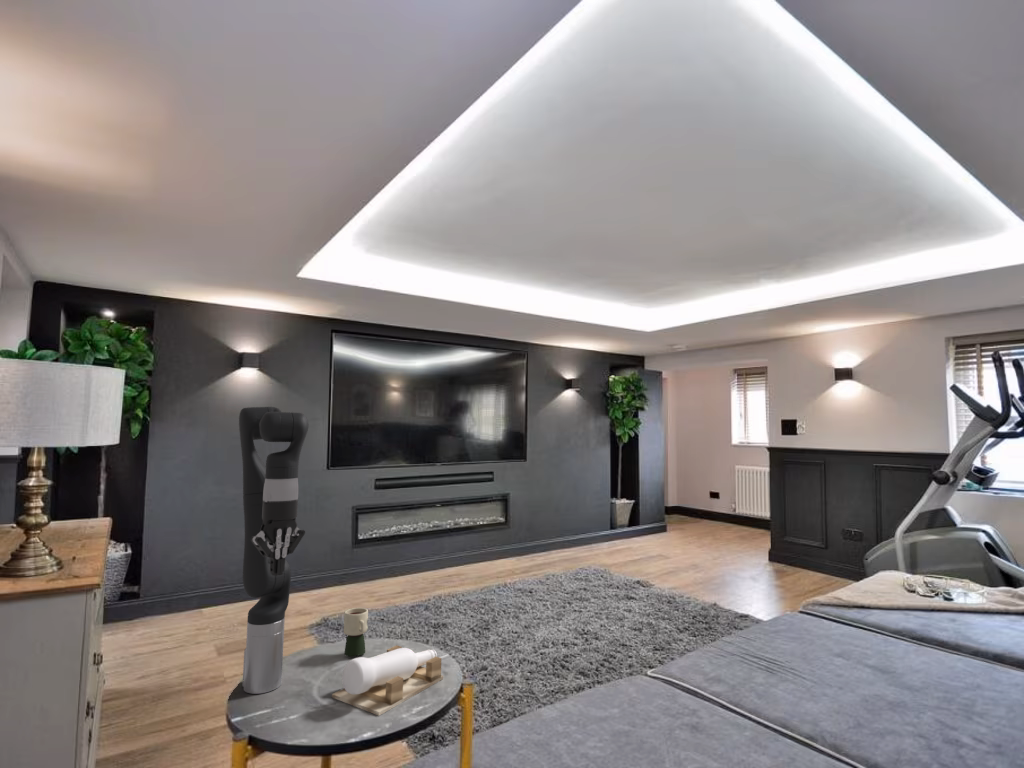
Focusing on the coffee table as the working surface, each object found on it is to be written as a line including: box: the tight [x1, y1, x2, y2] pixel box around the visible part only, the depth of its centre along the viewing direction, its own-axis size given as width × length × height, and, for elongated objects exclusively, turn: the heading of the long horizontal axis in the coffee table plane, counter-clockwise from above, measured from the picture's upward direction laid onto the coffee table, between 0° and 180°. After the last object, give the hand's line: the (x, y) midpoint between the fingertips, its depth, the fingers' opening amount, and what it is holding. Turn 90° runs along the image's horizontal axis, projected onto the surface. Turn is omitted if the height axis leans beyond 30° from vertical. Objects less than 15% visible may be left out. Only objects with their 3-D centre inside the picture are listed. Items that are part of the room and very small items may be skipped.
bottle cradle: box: [331, 645, 444, 717], centre depth 143 cm, size 17×24×6 cm
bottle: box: [341, 647, 438, 694], centre depth 144 cm, size 8×8×30 cm
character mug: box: [343, 607, 369, 658], centre depth 165 cm, size 11×7×13 cm, turn 39°
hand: (276, 574), depth 122 cm, fingers closed
